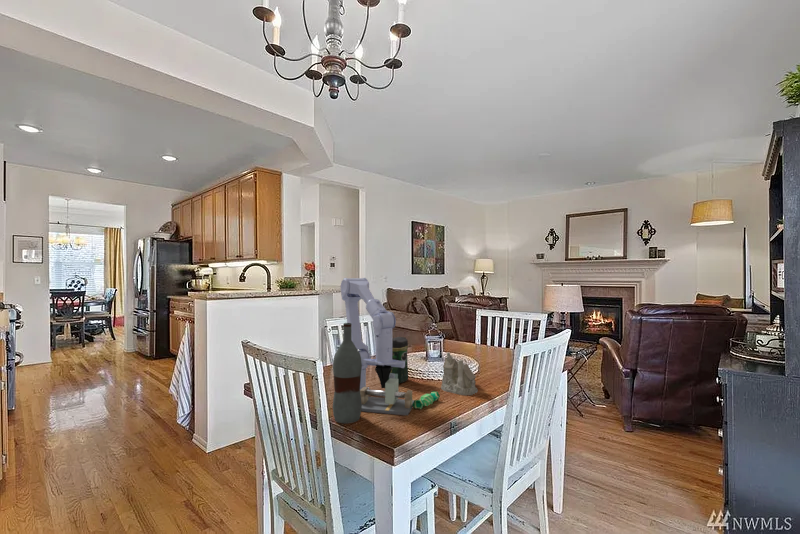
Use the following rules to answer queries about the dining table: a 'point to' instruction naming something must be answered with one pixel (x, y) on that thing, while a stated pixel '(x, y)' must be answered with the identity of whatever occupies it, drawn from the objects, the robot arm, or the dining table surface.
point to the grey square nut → (391, 391)
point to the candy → (426, 400)
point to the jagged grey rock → (458, 377)
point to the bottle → (347, 380)
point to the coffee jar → (399, 354)
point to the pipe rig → (379, 403)
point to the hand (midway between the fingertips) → (384, 387)
